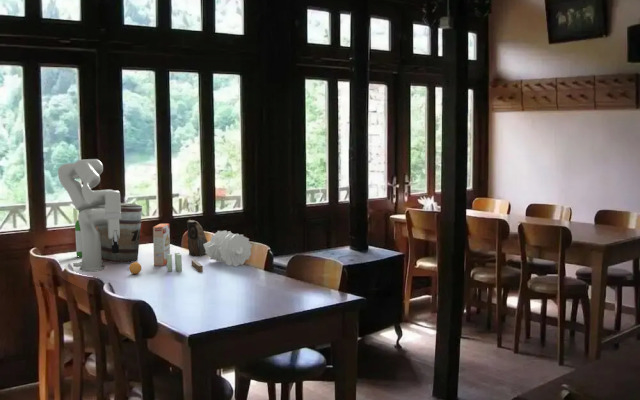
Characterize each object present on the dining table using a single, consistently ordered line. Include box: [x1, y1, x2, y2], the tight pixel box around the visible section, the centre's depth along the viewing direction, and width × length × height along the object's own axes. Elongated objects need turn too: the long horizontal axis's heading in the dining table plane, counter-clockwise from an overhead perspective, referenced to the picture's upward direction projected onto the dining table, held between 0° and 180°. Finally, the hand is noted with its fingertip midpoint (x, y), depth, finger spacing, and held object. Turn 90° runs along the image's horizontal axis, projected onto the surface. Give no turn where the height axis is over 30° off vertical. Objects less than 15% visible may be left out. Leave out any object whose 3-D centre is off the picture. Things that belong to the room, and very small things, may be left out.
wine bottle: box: [74, 211, 82, 258], centre depth 392 cm, size 8×8×30 cm
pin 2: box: [176, 253, 183, 273], centre depth 350 cm, size 2×2×8 cm
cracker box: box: [152, 223, 171, 267], centre depth 370 cm, size 14×6×21 cm, turn 179°
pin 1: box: [174, 252, 181, 271], centre depth 355 cm, size 2×2×8 cm
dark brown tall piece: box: [186, 219, 209, 258], centre depth 395 cm, size 13×13×20 cm
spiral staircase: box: [203, 230, 253, 267], centre depth 367 cm, size 18×18×25 cm
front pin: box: [166, 253, 173, 272], centre depth 351 cm, size 2×2×8 cm
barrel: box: [97, 202, 143, 264], centre depth 378 cm, size 22×22×30 cm
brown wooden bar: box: [190, 259, 204, 273], centre depth 356 cm, size 2×18×3 cm, turn 22°
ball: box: [128, 261, 142, 275], centre depth 344 cm, size 6×6×6 cm
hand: (115, 252), depth 339 cm, fingers closed
